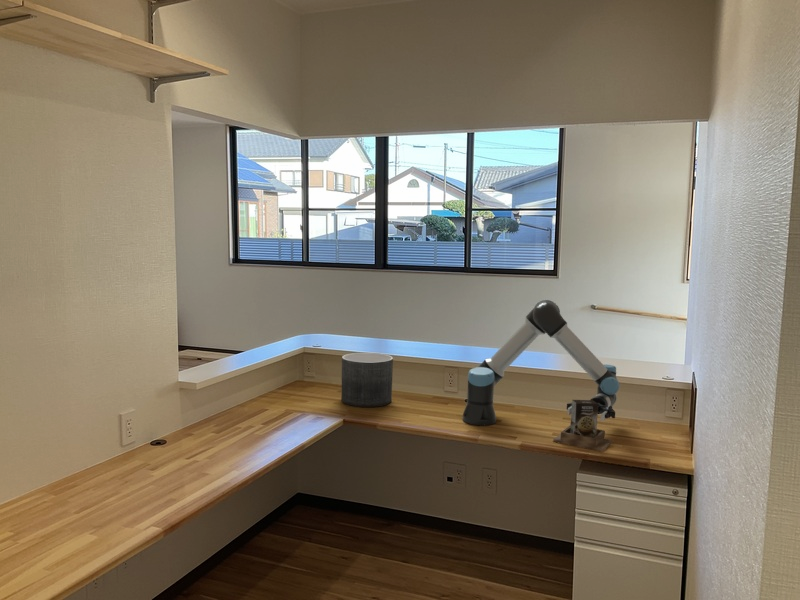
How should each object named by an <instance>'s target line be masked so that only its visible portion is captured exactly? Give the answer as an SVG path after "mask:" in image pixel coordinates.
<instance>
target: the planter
mask: <svg viewBox="0 0 800 600" xmlns="http://www.w3.org/2000/svg"><path fill="white" fill-rule="evenodd" d="M393 365H394V357H393V356H391V355H389V354H384V353H380V352H379V353H377V352H353V353H347V354H344V355H342V356H341V399H340V400H341V402H342V403H343V404H345V405H347V406H352V407H359V408H377V407H378V408H379V407H383V406H387V405H389V404H390V403H391V402H392V396H393V394H392V393H393V374H394V373H393V372H394V370H393V367H394V366H393Z"/></svg>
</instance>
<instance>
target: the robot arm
mask: <svg viewBox="0 0 800 600" xmlns="http://www.w3.org/2000/svg"><path fill="white" fill-rule="evenodd" d="M524 319H525V322H523V324H522V325H521V326H520V327H519V328H518V329H517V330H516V331H515V332H514V333H513V335H512V336H511V337H509V339H507V340H506V341H505V343H504V344H503V345H502V346H501V347H500V348H499V349H498V350H497V351H496V352H495V353H494V355H492V357H490V358H485V359H484V360H483V361H482V362H481V363H480V364H479V365H478V366H477V367H473V368H471V369H469V371H468V375H467V393H466V394H467V398H466V405H465V407H464V411H463V413H462V421H463V422H464V423H465V424H469V425H474V426H491V425H494V424H496V423H497V414H496V411H495V408H494V389H495V386H496V385H497V384H498V383H499V382H500V381H501V380H502V379H503V378H504V377H505V371H506V370H507V369H508V368H509V367H510V365H512V364H513V363H514V362H515V360H517V358H519V357H520V355H521V354H523V352H524V351H525V350H526V349H527V348H528V347H529V346H530V345H531V344H532V343H533V342H534V341H535V340H536V339H537V338H538V337H539V336H540V335H545V334H546V335H548V337H549V338H552V339H555V341H556V342H557V343H558V344H559V345H560V346H561V347H562V348H563V349H564V350H565V351H566V352H567V354H568V355H570V357H572V359H573V360H574V362H576V363H577V364H578V365H579V366H580V367H581V368H582V370H584V371H585V372H586V374H587V375H588V376H589V377H590V378H591V379H592V380H593V381H594V382H595V383H596V385H597V393H596V395H595V396H593V397H592V398H590V400H593V401H595V402H596V403H598V415H600V422H604V420H606V419H610V418H612V419H615V418H616V411H615V410H614V409H613V406H614V405H615V403H616V402H617V399H618V398H617V393H618V391H619V390H620V381H619V380H618V378H617V367H616V366H615V365H612V364H603V362H602V361H600V360H599V359H598V357H597V356H596V355H595V354H594V353H593V352H592V351H591V350H590V349H589V348H588V347H587V345H585V344H584V342H583V341H582V340H581V339H580V338H579V337H578V336H577V335H576V334H575V333H574V332H573V331H572V330H571V329H570V327H569V326H568V322H567V321H566V320H565V319H564V318H563V315H562V314H561V310H560V308H559V306H558V304H556V303H555V302H554V301H552V300H549V299H542V300H539V302H537V303H536V304H535V305H534V307H533V308H532V310H531V311H529V312H528V313H527V315H525V318H524ZM566 410H567V413H566V414H567V415H568V416H571V412H572V402H568V403H566Z"/></svg>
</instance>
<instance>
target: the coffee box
mask: <svg viewBox="0 0 800 600" xmlns="http://www.w3.org/2000/svg"><path fill="white" fill-rule="evenodd" d="M571 403H572V412H571V414H570V425H569V426H570V434H575V435H580V436H585V437H590V438H595V437H596V429H597V427H598V426H597V425H598V415H599V414H598V403H596V402H595V401H593V400H591V399H572V401H571Z"/></svg>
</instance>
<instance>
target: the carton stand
mask: <svg viewBox="0 0 800 600" xmlns="http://www.w3.org/2000/svg"><path fill="white" fill-rule="evenodd" d="M553 441H555V442H554V443H558V442H559V444H562V443H564V444H563V445H567V444H569V446H573V447H577V448H581V449H587V450H591V451H595V452H601V453H603V452H604V451H606V449H607V448H608V447H609V446H610V445H611V444H612V443H613V440H612V439H607V438H606V430H605V429H603V430H602V429H596V437H595V438H590V437H585V436H580V435H575V434H570V425H568V426H567V427H566V428H564V429H563V430H562V431H561V432H560V434H558V435H556V437H554V438H553V440H552V442H553Z"/></svg>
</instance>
